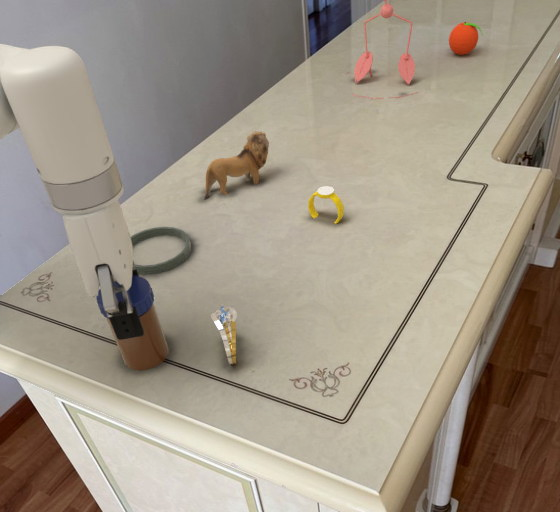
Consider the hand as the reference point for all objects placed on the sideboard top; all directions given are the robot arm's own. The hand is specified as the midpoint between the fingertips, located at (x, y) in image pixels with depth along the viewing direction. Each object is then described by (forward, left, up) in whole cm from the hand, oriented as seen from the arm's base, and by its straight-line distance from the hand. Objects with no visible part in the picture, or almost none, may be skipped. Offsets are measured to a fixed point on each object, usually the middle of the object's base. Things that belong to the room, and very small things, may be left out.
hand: (131, 315), depth 73 cm
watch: (+3, +39, -8) cm, 40 cm away
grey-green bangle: (-16, +18, -7) cm, 25 cm away
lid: (0, 0, +3) cm, 3 cm away
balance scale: (-18, +94, -8) cm, 96 cm away
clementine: (-9, +120, -8) cm, 121 cm away
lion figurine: (-18, +42, -8) cm, 46 cm away
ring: (+10, +6, -8) cm, 14 cm away
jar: (0, 0, -7) cm, 7 cm away
